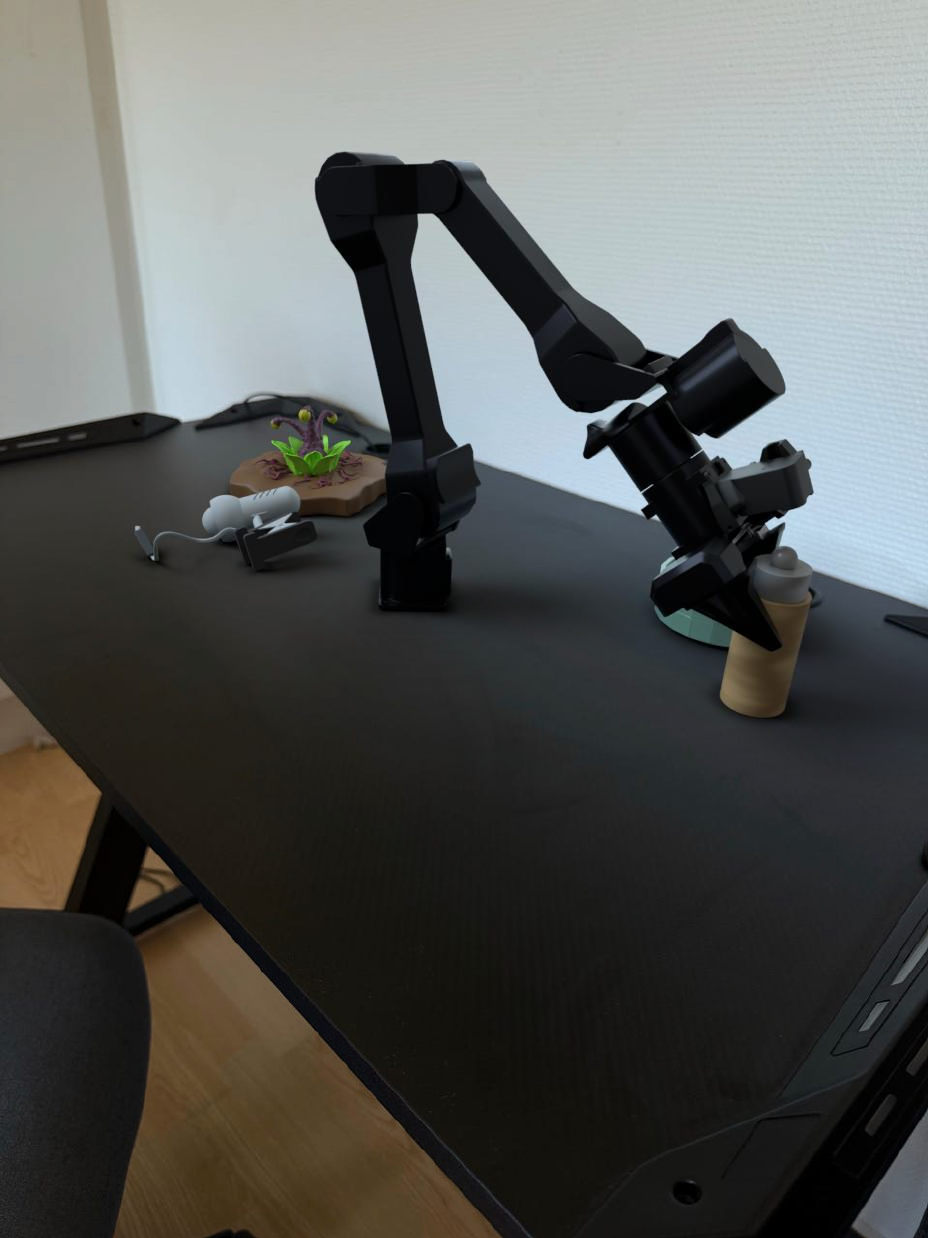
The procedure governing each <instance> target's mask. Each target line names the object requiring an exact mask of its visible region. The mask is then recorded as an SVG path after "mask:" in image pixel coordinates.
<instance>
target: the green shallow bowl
mask: <svg viewBox="0 0 928 1238" xmlns="http://www.w3.org/2000/svg"><path fill="white" fill-rule="evenodd" d="M674 561H676V560H675V558H674V557H673V556H670V557H669V558H667V559H666V560H665V561H664V562H663V563H661V566H660V571H659V574H660V573H661V572H662V571H663V570H664V569H665V568H666V567H667V566H668V565H669V564H671V563H673V562H674ZM654 611H655V613H656V615H657V617H658V619H659V620H660V621H661V622H662V623H663V624H664V625H666V626H667V627H668V628H670V630H673V631H675V632H677V633H679V634H681V635H683V636H685V637H687V638H690V639H693V640H695V641H699V642H701V643H705V644H707V645H712V646H717V647H721V648H723V647H724V648H729V647H730V642H731V637H732V633H733V630H731V629H729V628H728V627H726V626H724V625H722V624H720V623H718V622H716V621H714V620H712V619H710V618H708V617H706V616H704V615H702V614H700V613H698V612H696V611H694V610H692V609H690V610H688V611H686V610H685V609H684V608H682V609H680V610H678V611H677V612H675V613H673V614H671V615H670V616H668V617H663V615H662V614H661V612H660V611H659V609H658V608H657V607H656V605H655V604H654Z"/></svg>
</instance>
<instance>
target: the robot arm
mask: <svg viewBox="0 0 928 1238" xmlns="http://www.w3.org/2000/svg"><path fill="white" fill-rule="evenodd" d="M313 187H314V188H313V189H314V198H315V199H314V200H315V203H316V207H317V209H318V211H319V215H320V217H321V219H322V223H323V225H324V228H325V231H326V233H327V236H328V239H329V241H330V243H331V244H332V246H333V247H334V249H335V250H336V251H337V253H339V255H340V256H341V258H342V259H343V261H345V263H346V265H347V266H348V267H349V268H350V270H351V272H353V275H354V279H355V282H356V286H357V291H358V295H359V301H360V305H361V309H362V314H363V318H364V322H365V326H366V331H367V335H368V340H369V344H370V348H371V349H370V350H371V353H372V357H373V362H374V366H375V370H376V375H377V379H378V384H379V389H380V393H381V397H382V402H383V406H384V410H385V415H386V420H387V425H388V428H389V432H390V439H391V440H390V441H391V444H390V448H389V452H388V458H387V461H386V471H385V487H386V493H385V497H386V504H385V505H384V506H383V507H381V508H380V509H378V511H377V512H376V513H374V514H373V515H372V516H371V517H369V518H368V520H366V521H365V522H364V523H363V525H362V528H363V531H364V534H365V539H366V541H367V545H368V547H371V548H374V549H379V555H380V556H379V590H378V602H377V603H378V608H379V609H381V610H411V611H412V610H415V611H417V610H418V611H420V610H421V611H444V610H446V609H447V598H449V597H451V595H452V577H453V576H452V572H453V553H452V549H451V548H450V547H447V544H448V543H447V534H450V533H453V532H454V531H456V530H457V529H458V527H459V524H460V522H461V521H462V519H463V518H465V517H466V516H467V515H469V514H470V512H471V511H472V509H473V507H474V505H476V503H477V497H478V496H477V488H478V487H480V486H481V485H482V482H481V480H480V479H479V477H478V475H477V472H476V468H475V459H474V457H475V456H474V449H473V446H472V444H471V443H470V442H467V443H464V444H463V443H462V444H461V445H458V444H457V443H456V441H455V440H454V439H453V437H452V436H451V435H450V433H449V432H448V431H447V429H446V427H445V424H444V419H443V413H442V410H441V409H442V408H441V405H440V400H439V395H438V394H439V393H438V390H437V385H436V380H435V375H434V369H433V365H432V361H431V360H432V359H431V355H430V351H429V347H428V342H427V336H426V332H425V331H426V330H425V327H424V322H423V318H422V312H421V307H420V303H419V298H418V293H417V292H418V291H417V288H416V283H415V278H414V274H413V267H412V257H413V252H414V248H415V243H416V239H417V234H418V229H419V215H434V216H435V217H436V218H437V219H438V220H439V222H441V224H442V225H443V226H444V227H445V229H446V230H447V231H448V232H449V234H450V235H451V236H452V237H453V239H455V241H456V242H457V244H458V245H459V246H460V247H461V248H462V250H463V251H464V252H465V253H466V255H467V256H468V257H469V258H470V259H471V261H472V262H473V263H474V265H475V266H476V267H477V268H478V269H479V271H480V272H481V273H482V274H483V276H484V277H485V278H486V279H487V280H488V281H489V283H490V284H491V285H492V286H493V288H494V289H495V290H496V292H497V293H498V294H499V295H500V296H501V298H502V300H504V301H505V303H506V304H507V305H508V306H509V308H510V309H511V310H512V311H513V312H514V313H515V315H516V316H517V317H518V319H519V320H520V321H521V322H522V323H523V325H524V326H525V328H526V330H527V332H528V333H529V335H530V337H531V339H532V342H533V346H534V349H535V353H536V357H537V361H538V364H539V366H540V368H541V369H542V371H543V373H544V375H545V377H546V378H547V381H549V383H550V386H551V387H552V389H553V391H554V392H555V394H556V397H558V398H559V401H560V402H561V403H562V404H564V406H566V407H567V409H569V410H571V411H573V412H574V413H581V414H582V413H584V414H595V413H599V412H603V411H605V410H607V409H608V408H609V409H610V408H611V407H613V406H615V405H617V404H619V403H621V402H624V401H634V402H630V403H629V404H628V405H626V407H624V408H623V409H622V410H620V411H619V412H618V413H616V414H615V415H614V416H613V417H611V418H610V419H609V420H604V419H601V418H597V419H595V420H593V421H591V422H589V423H588V424H587V425H586V439H585V443H584V447H583V451H582V457H583V458H584V459H585V460H590V459H592V458H594V457H596V456H598V455H599V454H601V453H602V452H604V451H606V450H607V449H609V450H610V451H611V452H612V454H613V455H614V457H615V458H616V460H617V461H618V463H619V464H620V465H621V467H622V468H623V470H624V471H625V473H626V474H627V475H628V477H629V478H630V480H631V481H632V483H634V486H635V487H636V488H637V490H638V491H639V493H641V496H642V497H643V498H644V500H645V501H646V502H647V504H646V505H645V506H643V507H642V508H641V509H640V512H641V513H642V514H643V516H644V517H645V519H646V520H647V521H649V520H650V519H652V518H654V517H655V516H656V517H657V519H658V520H659V521H660V523H661V524H662V525H663V527H664V529H665V530H666V531H667V532H668V534H669V535H670V537H671V538H672V540H673V541H674V543H675V544H676V547H674V548H673V550H672V551H670V555H671V557H674V558H675V560H676V561H674V562H673V563H671V564H669V565H668V566H667V567H666V568H665V569H664V570H663V571H662V572H661V573H660V572H659V573H658V574H657V575H656V576H655V577H654V578H653V579H652V580H651V585H650V591H649V598H650V600H651V601H652V602H653V604H654V606H655V605H656V607H657V608H658V609H659V611H660V612H661V614H662V615H663V617H668V616H670V615H671V614H673V613H675V612H677V611H678V610H680V609H682V608H684V609H685V610H686V611H688V610H690V609H692V610H694V611H696V612H698V613H700V614H702V615H704V616H706V617H708V618H710V619H712V620H714V621H716V622H718V623H720V624H722V625H724V626H726V627H728V628H729V629H731V630H733V631H735V632H737V633H738V634H740V635H742V636H744V637H745V638H747V639H749V640H750V641H752V642H754V643H756V644H757V645H759V646H761V647H763V648H764V649H766V650H768V651H770V652H773V651H775V650H777V649H779V648H781V647H782V646H783V642H782V640H781V638H780V635H779V633H778V631H777V629H776V627H775V625H774V623H773V621H772V619H771V617H770V615H769V614H768V612H767V610H766V608H765V606H764V604H763V602H762V600H761V598H760V596H759V594H758V593H757V591H756V589H755V587H754V577H755V572H756V567H757V561H758V560H757V558H755V557H757V556H760V555H765V554H772V552H773V551H774V550H775V549H776V548H778V547H780V546H781V541H782V539H783V538H782V537H783V534H784V531H785V529H786V522H785V521H784V522H781V523H779V524H778V525H775V526H774V527H773V528H771V529H769V527H768V525H767V524H766V523H768V522H770V521H771V520H773V519H774V518H776V519H777V520H780V519H782V518H783V517H785V516H786V515H787V514H788V513H789V512H790V511H793V510H795V509H799V508H801V507H804V506H805V505H806V504H807V502H808V498H809V496H813V495H814V491H815V490H814V487H813V482H812V478H811V475H810V469H811V468H812V465H813V464H812V461H811V459H810V458H807V457H806V454H805V451H804V449H801V450H797V449H796V448H795V446H793V445H792V443H791V442H789V440H788V439H787V438H784V439H779V440H777V441H776V440H775V441H771V442H769V443H767V444H766V445H765V446H764V447H763V448H762V449H761V453H760V457H759V461H758V462H757V461H755V460H754V461H751V462H750V463H749V464H747V465H744V466H740V467H736V468H733V467H731V465H730V464H729V462H728V461H727V459H726V458H725V457H723V456H722V457H720V456H719V455H716V456H714V457H713V458H710V457H709V455H707V453H706V452H705V450H704V449H703V447H702V446H701V444H700V443H699V442H698V440H697V439H696V437H695V436H697V437H700V436H702V435H704V434H705V435H706V436H708V437H709V438H712V439H716V440H717V439H721V438H722V437H724V436H725V435H727V434H728V433H729V432H731V431H732V430H734V429H735V428H737V427H738V426H739V425H741V424H742V423H744V422H745V421H747V420H748V419H750V418H751V417H753V416H754V415H755V414H757V413H759V412H760V411H761V410H763V409H764V408H766V407H767V406H768V405H770V404H771V403H773V402H775V401H776V400H777V399H779V398H780V397H782V396H783V395H785V394H786V389H787V388H786V382H785V379H784V376H783V374H782V371H781V370H780V368H779V366H778V364H777V362H776V360H775V358H773V356H772V355H771V353H770V352H769V350H768V349H767V348H766V347H763V348H762V346H761V345H760V344H759V343H758V342H757V341H756V339H754V338H753V337H752V336H751V335H750V334H748V333H747V332H745V331H744V330H742V329H740V327H739V325H738V324H737V323H736V321H735V320H734V319H733V317H728V318H725V319H723V320H720V321H719V322H718V323H717V324H716V325H714V326H713V327H712V328H711V329H709V330H708V332H706V334H705V335H704V336H703V338H702V339H701V340H700V341H699V342H697V343H696V344H695V345H693V346H692V347H691V348H690V349H688V350H687V351H685V352H684V354H682V355H680V357H677V356H673V355H670V354H668V353H665V352H661V351H657V350H654V349H651V348H648V347H646V346H645V345H644V343H643V342H642V340H641V339H640V338H639V337H638V336H637V335H636V334H635V333H634V332H632V331H631V330H630V329H629V328H628V327H627V326H625V325H624V324H623V323H622V322H621V321H619V320H618V319H617V317H615V316H614V315H613V314H611V313H610V312H609V311H607V310H605V308H603V307H601V306H599V305H597V304H595V303H594V302H592V301H590V300H589V299H587V298H586V297H585V296H583V295H582V294H581V293H580V292H579V291H577V290H576V288H574V287H573V286H572V284H570V282H569V280H567V279H566V277H565V275H563V274H562V272H561V271H560V270H559V269H558V268H557V266H556V265H555V264H554V263H553V261H552V260H551V259H550V258H549V256H548V255H547V254H546V253H545V252H544V250H543V249H542V248H541V247H540V246H539V244H538V243H537V242H536V240H535V239H534V238H533V237H532V236H531V234H530V233H529V231H527V229H526V228H525V227H524V226H523V224H522V223H521V222H520V221H519V219H518V218H517V217H516V216H515V215H514V213H512V211H511V210H510V208H509V207H508V206H507V205H506V203H504V201H503V200H502V199H501V197H500V196H499V195H498V194H497V192H496V191H495V190H494V189H493V188H492V186H491V185H490V184H489V182H488V181H487V176H485V173H484V172H483V170H482V169H481V168H480V167H479V166H478V165H477V164H476V163H474V162H472V161H468V160H460V159H437V160H434V161H433V162H426V163H425V162H424V163H405V162H404V161H402V160H401V159H400V158H399V157H397V155H396V156H395V155H393V154H389V153H379V152H375V153H374V152H362V151H361V152H360V151H339V152H337V151H336V152H334V153H333V154H331V155H330V156H329V157H327V158H326V159H325V161H324V162H323V163H322V165H321V167H320V169H319V172H318V175H317V176H316V177H315V178H314V186H313ZM660 388H663V389H664V390H665V393H664V394H662V395H661V396H659V398H657V399H656V400H655V401H653V402H652V403H651V404H649V405H646V404H644V403H643V402H642V403H641V402H640V401H639V402H637V400H638V399H640V398H642V397H644V396H646V395H648V394H651V393H652V392H654V391H656V390H657V389H658V390H659V389H660ZM635 400H636V401H635ZM754 558H755V559H754Z"/></svg>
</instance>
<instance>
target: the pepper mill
mask: <svg viewBox="0 0 928 1238" xmlns="http://www.w3.org/2000/svg"><path fill="white" fill-rule="evenodd" d="M755 558H757V560H758V561H757V567H756V572H755V577H754V587H755V589H756V591H757V593H758V594H759V596H760V598H761V600H762V602H763V604H764V606H765V608H766V610H767V612H768V614H769V615H770V617H771V619H772V621H773V623H774V625H775V627H776V629H777V631H778V633H779V635H780V638H781V640H782V642H783V646H782V647H781V648H779V649H777V650H775V651H773V652H770V651H768V650H766V649H764V648H763V647H761V646H759V645H757V644H756V643H754V642H752V641H750V640H749V639H747V638H745V637H744V636H742V635H740V634H738V633H737V632H735V631H733V633H732V637H731V642H730V647H728V652H727V658H726V663H725V665H724V666H725V667H724V671H723V677H722V681H721V686H720V691H719V698H720V701H722V703H723V705H725V706H726V707H727V708H729V709H730V710H732V711H734V712H735V713H738V714H740V715H744V716H748V717H752V718H757V719H758V718H759V719H768V718H775V717H777V716H779V715H781V714H782V713H783V712H784V711H785V709H786V705H787V701H788V697H789V693H790V689H791V685H792V680H793V677H794V673H795V669H796V665H797V660H798V656H799V653H800V648H801V644H802V641H803V635H804V632H805V628H806V625H807V619H808V616H809V612H810V608H811V604H812V599H813V596H812V593H811V592H810V591H809V589H810V585H811V580H812V578H813V577H812V576H813V572H814V570H813V567H812V566H811V565H810V564H809V563H808V562H806V561H804V560H802V559H800V558H799V555H798V553H797V550H796V549H794V548H793V547H791V546H788V545H779V547H778V548H776V549H775V550H774V551H773V552H772V554H765V555H760V556H757V557H755ZM755 558H754V559H755Z"/></svg>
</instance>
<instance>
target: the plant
mask: <svg viewBox="0 0 928 1238" xmlns="http://www.w3.org/2000/svg"><path fill="white" fill-rule="evenodd" d="M325 416H326V417H327V418H326V419H327V421H328V422H329V423H330V424H336V423H337V421H338V415H337V414H336V413H335V412H334V411H332V410H328V409H326V408H325V409H323V410H322V411H321V412H320V414H319V415H318V418H317V419H316V421H315V417H316V416H315V415H314V410H313V409H312V407H311V405H304V407H302V408H301V409H300V410H299V412H298V419H299V420H300V421H301V422H302V423H306V426H307V428H306V429H305V428H303V427H302V426H301V425H300V424H298V423H297V422H296V421H295V420H293V419H291V418H287V417H279V416H277V417H274V418H272V419H271V421H270V426H271V427H272V429H273V430H279V429H281V427H282V423H286V424H287V425H290V426H291V427H292V428H293V429H295V431H296V432H298V434H299V435H300V437H301V440H299V439H298V438H296V437H294V436H292V435H290V436H289V435H288V442H289V444H290V446H289V445H288V444H287V443H285V442H282V441H279V440H274V439H272V440H271V444H272V445H274V446H275V447H277V449H279V450H276V449H275V450H274V451H264V452H262V454H261V455H260V456H256V457H254V458H250V459H246V460H243V461H242V462H241V463H240V464H239V466H238V468H237V469H235V471H233V473H232V475H231V477H230V480H229V495H231V496H235V497H237V498H242V497H246V496H250V495H254V494H257V493H261V492H265V491H269V490H272V489H276V488H280V487H284V486H288V487H291V488H292V489H294V490H295V491H296V492H297V494H298V495H299V498H300V508H299V511H298V513H299V515H300V517H303V516H311V515H325V516H326V515H327V516H336V517H337V516H338V517H345V518H347V517H350V516H352V515H354V514H359V512H361V510H362V509H364V508H365V507H366V506H368V505H371V504H373V503H374V502H375V501H376V500H377V499H378V497H379V496H381V495H383V494H386V487H385V471H386V466H387V461H386V460H384V459H382V458H380V457H377V456H374V455H369V454H362V453H356V452H350V451H349V450H348V449H346V448H347V447H348V446H349V445H350V444H351V440H350V439H349V440H343V441H339V442H338V443H336V444H334V445H333V446H332V447H331V448H329V438H328V435H326V434H323V424H324V419H325ZM345 449H346V450H345Z"/></svg>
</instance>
